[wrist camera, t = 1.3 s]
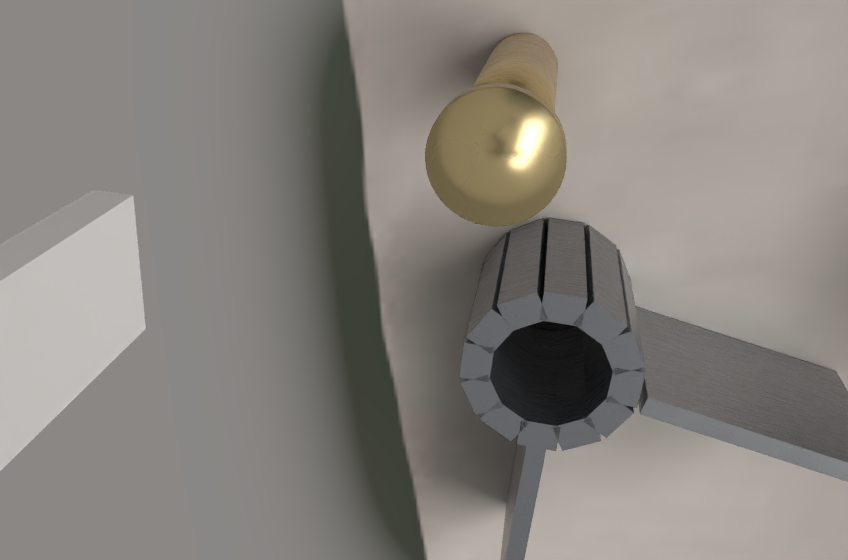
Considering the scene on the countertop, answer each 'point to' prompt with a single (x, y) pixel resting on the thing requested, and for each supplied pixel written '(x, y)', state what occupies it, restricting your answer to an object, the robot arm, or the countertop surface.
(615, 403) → the hinge leaf fixed
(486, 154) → the pin
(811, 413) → the hinge leaf swing
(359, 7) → the countertop surface
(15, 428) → the robot arm
